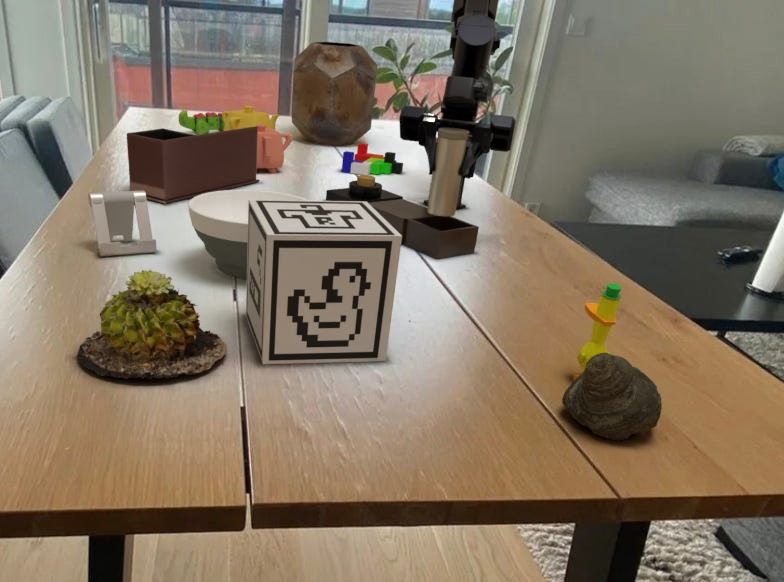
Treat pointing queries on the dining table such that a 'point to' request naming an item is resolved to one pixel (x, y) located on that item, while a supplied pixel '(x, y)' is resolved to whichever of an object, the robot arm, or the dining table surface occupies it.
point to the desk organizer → (190, 162)
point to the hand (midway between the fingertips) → (446, 173)
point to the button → (366, 180)
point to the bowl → (228, 225)
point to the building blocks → (370, 162)
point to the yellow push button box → (361, 193)
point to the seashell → (613, 398)
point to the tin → (447, 171)
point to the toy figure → (600, 323)
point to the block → (320, 280)
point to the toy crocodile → (202, 122)
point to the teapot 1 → (247, 119)
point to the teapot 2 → (271, 148)
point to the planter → (333, 93)
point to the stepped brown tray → (428, 229)
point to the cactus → (150, 333)
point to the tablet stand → (121, 221)
